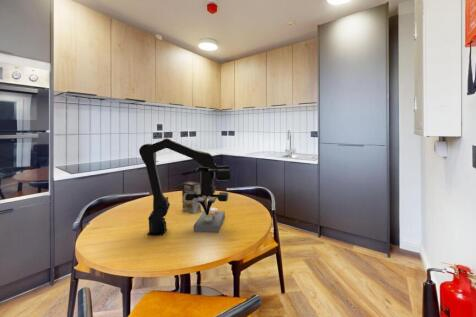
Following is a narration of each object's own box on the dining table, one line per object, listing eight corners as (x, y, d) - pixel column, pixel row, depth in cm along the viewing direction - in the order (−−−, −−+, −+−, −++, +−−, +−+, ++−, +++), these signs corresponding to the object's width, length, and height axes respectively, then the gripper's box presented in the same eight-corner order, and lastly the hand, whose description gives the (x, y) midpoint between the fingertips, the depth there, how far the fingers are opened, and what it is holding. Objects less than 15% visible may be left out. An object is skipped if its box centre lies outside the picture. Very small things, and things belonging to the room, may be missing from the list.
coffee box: (181, 211, 142) (181, 183, 140) (189, 208, 147) (189, 181, 145) (194, 213, 137) (193, 184, 135) (201, 210, 142) (201, 182, 140)
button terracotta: (205, 218, 119) (204, 214, 119) (206, 214, 124) (206, 211, 123) (214, 218, 119) (214, 214, 119) (215, 215, 123) (215, 211, 123)
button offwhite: (207, 213, 126) (207, 210, 125) (209, 210, 130) (209, 207, 130) (216, 213, 125) (216, 210, 125) (218, 211, 130) (218, 207, 129)
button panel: (193, 232, 112) (193, 225, 112) (204, 216, 132) (203, 210, 132) (218, 232, 111) (218, 225, 111) (224, 217, 131) (224, 211, 131)
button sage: (201, 221, 113) (201, 217, 113) (203, 218, 117) (203, 214, 117) (211, 221, 112) (211, 217, 112) (213, 218, 117) (213, 214, 116)
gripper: (229, 178, 120) (229, 209, 122) (191, 177, 122) (192, 208, 123) (226, 182, 109) (226, 217, 111) (184, 182, 110) (185, 216, 112)
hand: (207, 214), depth 114 cm, fingers closed
